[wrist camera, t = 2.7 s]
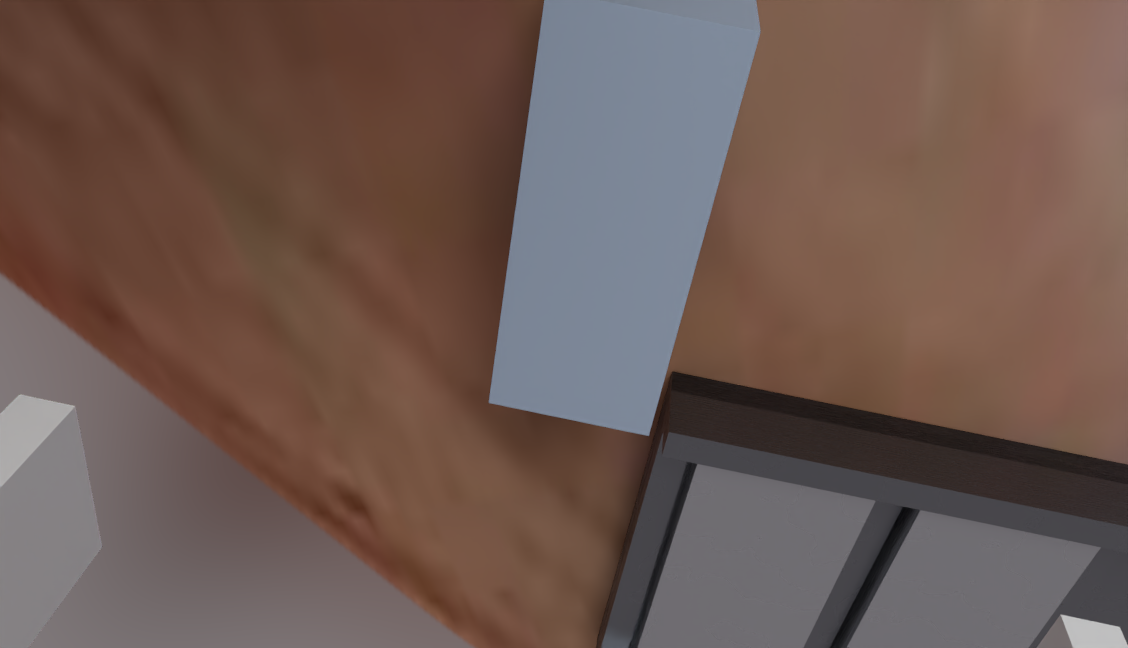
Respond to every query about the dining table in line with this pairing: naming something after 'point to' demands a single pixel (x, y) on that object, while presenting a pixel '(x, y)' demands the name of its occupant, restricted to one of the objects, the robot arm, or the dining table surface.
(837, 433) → the rack
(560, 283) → the pale blue rectangular prism
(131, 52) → the dining table surface
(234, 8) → the dining table surface
